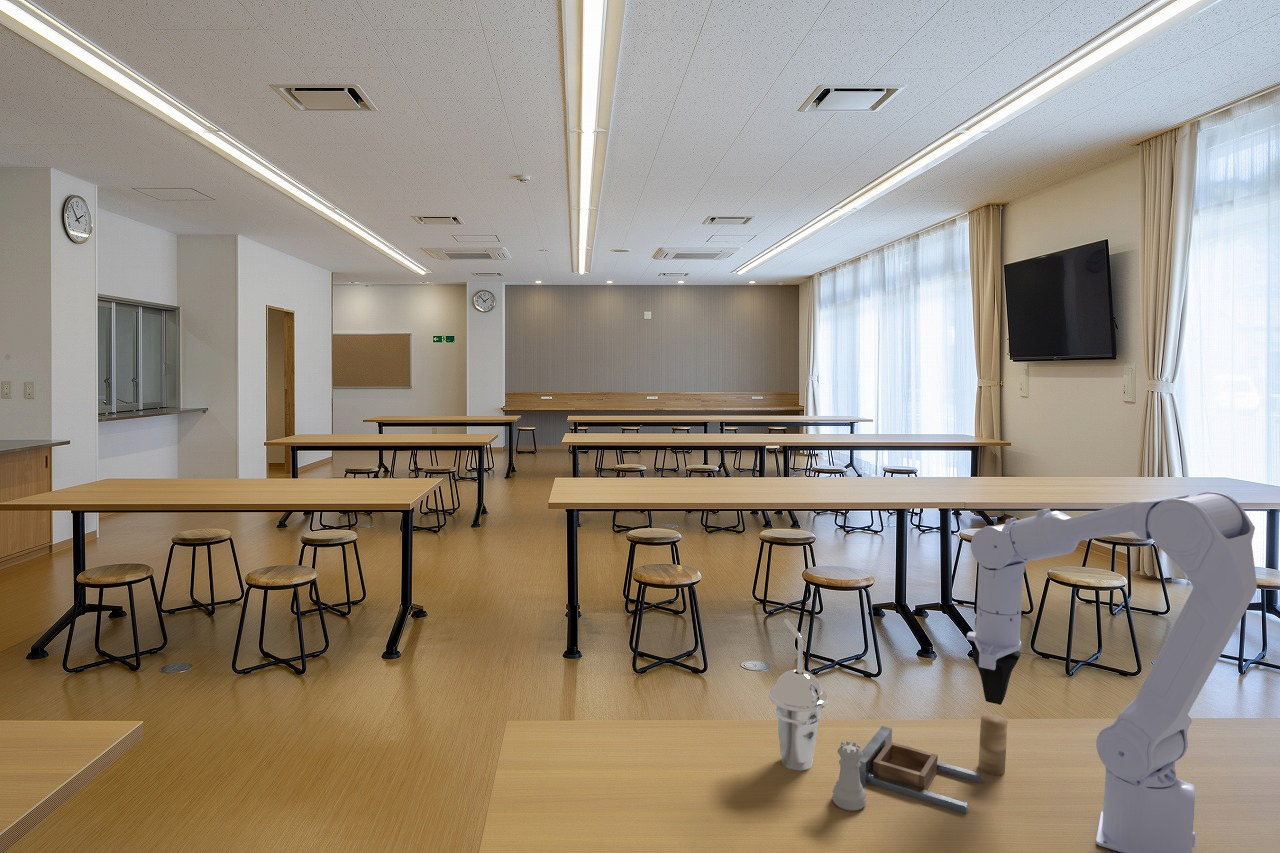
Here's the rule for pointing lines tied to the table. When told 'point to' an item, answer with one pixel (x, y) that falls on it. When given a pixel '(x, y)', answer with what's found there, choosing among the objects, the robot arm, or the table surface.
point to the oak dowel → (992, 744)
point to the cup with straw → (797, 712)
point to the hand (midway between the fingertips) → (994, 701)
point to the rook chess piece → (849, 779)
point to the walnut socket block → (906, 765)
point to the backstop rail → (869, 778)
